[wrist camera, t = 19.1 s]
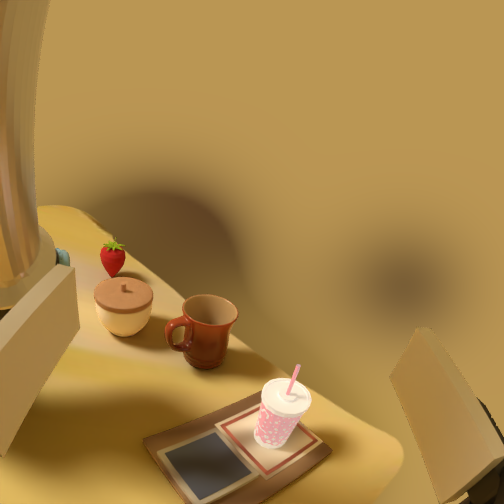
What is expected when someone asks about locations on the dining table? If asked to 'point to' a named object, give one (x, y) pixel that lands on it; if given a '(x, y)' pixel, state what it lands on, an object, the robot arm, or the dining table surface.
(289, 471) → the stamp board
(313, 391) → the dining table surface
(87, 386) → the dining table surface
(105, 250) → the strawberry
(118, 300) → the lidded jar
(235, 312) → the mug
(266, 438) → the beverage cup
